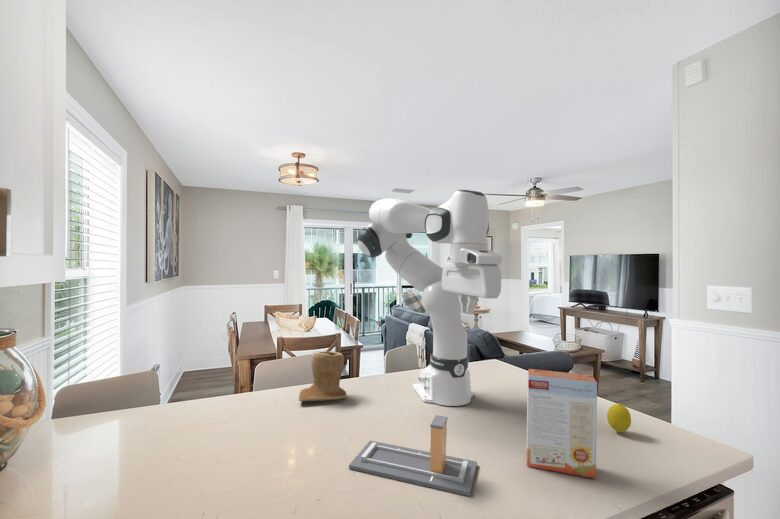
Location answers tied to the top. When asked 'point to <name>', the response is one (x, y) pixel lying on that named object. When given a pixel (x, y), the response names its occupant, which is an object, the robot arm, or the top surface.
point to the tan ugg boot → (325, 378)
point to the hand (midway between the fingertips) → (467, 313)
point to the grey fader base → (415, 467)
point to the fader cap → (438, 444)
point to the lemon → (619, 417)
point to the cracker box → (562, 422)
